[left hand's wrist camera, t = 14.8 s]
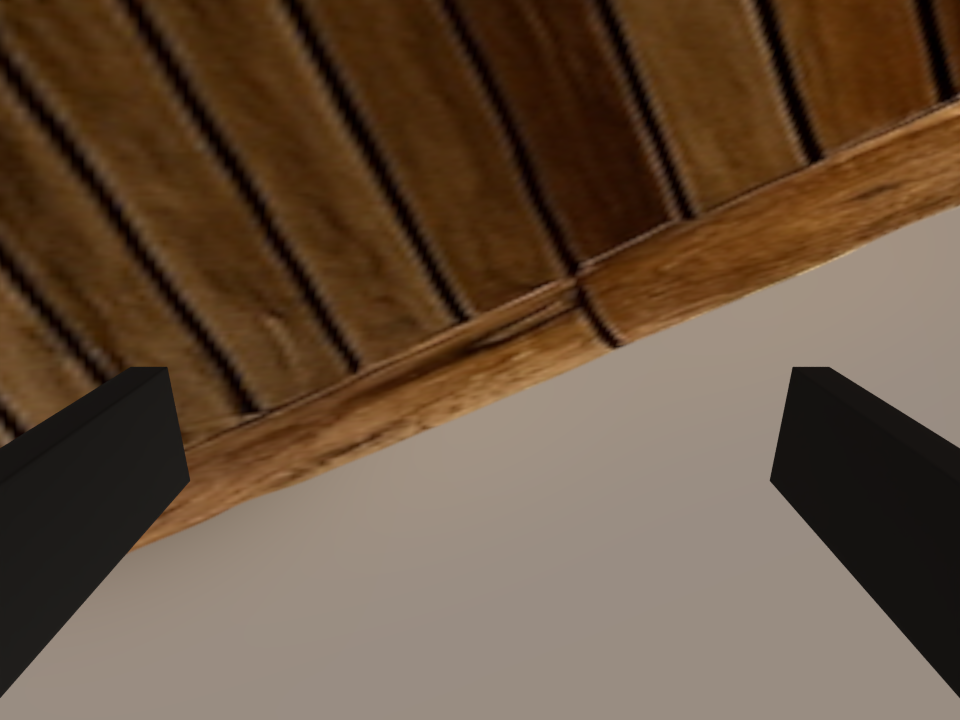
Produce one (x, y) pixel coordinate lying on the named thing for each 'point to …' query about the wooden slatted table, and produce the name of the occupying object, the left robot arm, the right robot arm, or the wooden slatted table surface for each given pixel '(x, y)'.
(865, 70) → the wooden slatted table surface
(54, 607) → the left robot arm
